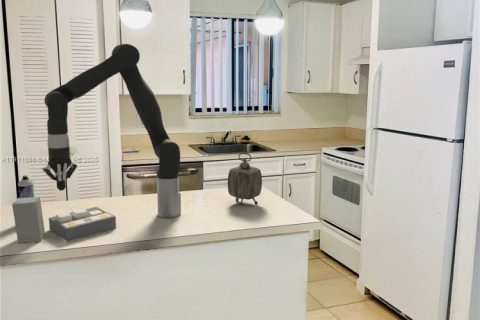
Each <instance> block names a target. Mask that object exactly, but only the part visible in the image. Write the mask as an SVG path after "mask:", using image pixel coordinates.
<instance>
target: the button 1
mask: <svg viewBox="0 0 480 320" xmlns="http://www.w3.org/2000/svg"><path fill="white" fill-rule="evenodd" d="M70 213H71V212H68V211H64V212H60V213H56V214H55V216H56V221H58V222H59V223H63V222H67V221H71V220H72V215H71V214H70Z"/></svg>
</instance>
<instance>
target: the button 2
mask: <svg viewBox="0 0 480 320" xmlns="http://www.w3.org/2000/svg"><path fill="white" fill-rule="evenodd" d="M88 213H89V214H91V215H96V214H100V213H103V212H101V211H99V210H94V211H90V212H88Z"/></svg>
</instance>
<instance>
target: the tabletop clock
mask: <svg viewBox="0 0 480 320" xmlns="http://www.w3.org/2000/svg"><path fill="white" fill-rule="evenodd" d="M241 155H247V156H249V159H247V158H243V159H242V158H240V156H241ZM238 159H239V160H240V161H242V162H241V163H240V164H239V165H238V166H235V167H233V168H230V169H229V171H228V175H227V190H228V191H227V192H228V194H229V195H230V196H231V197H234V198H235V200H236V201H239V200H240V202H239V205H240V206H243V205H244V203H243V201H244V200H252V201H253V202H254V205H258V201H257V200H256V199H255V198H257V197H259V196H260V195H261V193H262V189H263V188H262V186H263V175H262V174H263V173H262V171H261V169H260V168H258V167H255V166H251V165H250V163H249V162H251V161H252V156H251V154H249V152H240V153H239V154H238Z"/></svg>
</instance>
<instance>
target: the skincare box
mask: <svg viewBox="0 0 480 320" xmlns="http://www.w3.org/2000/svg"><path fill="white" fill-rule="evenodd" d="M11 205H12V211H13V212H12V213H13V219H14V225H15V232H16V237H17V243H18V244H23V243H36V242H37V243H38V242H42V240H43V238H44V237H45V236H46V231H45V224H44V223H45V222H44V218H43V217H44V215H43V209H42V201H41V197H40V196H34V197H31V198H19V197H18V198H17V199H15V200H14V201H13V203H12V204H11Z"/></svg>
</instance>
